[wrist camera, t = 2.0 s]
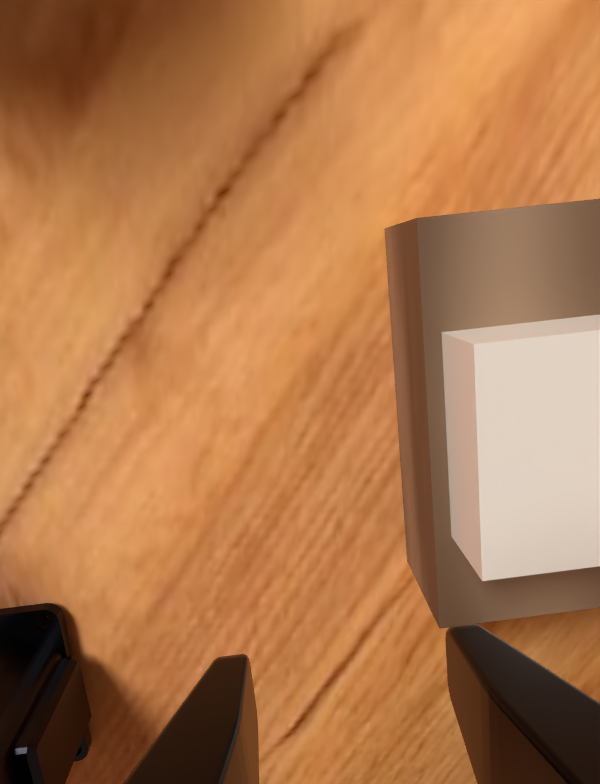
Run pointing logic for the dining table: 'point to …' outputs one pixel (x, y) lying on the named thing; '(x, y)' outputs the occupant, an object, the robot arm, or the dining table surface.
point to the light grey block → (524, 445)
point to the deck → (426, 377)
